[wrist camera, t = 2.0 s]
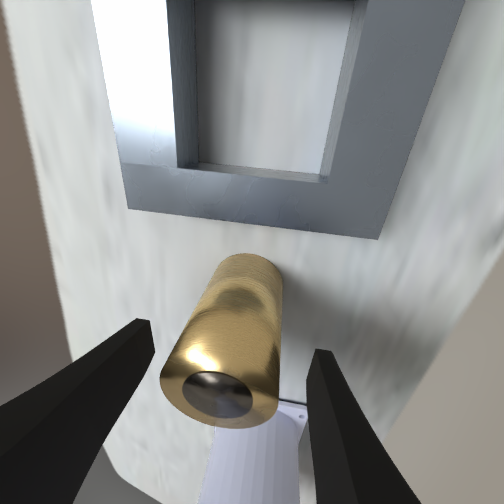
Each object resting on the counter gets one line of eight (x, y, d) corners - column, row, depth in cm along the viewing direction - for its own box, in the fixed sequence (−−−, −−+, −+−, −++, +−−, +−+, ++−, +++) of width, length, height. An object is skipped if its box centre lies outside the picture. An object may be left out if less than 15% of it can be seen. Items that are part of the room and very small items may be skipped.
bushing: (277, 315, 15) (270, 441, 9) (214, 305, 16) (164, 418, 9) (287, 258, 13) (287, 368, 7) (214, 248, 14) (151, 344, 7)
